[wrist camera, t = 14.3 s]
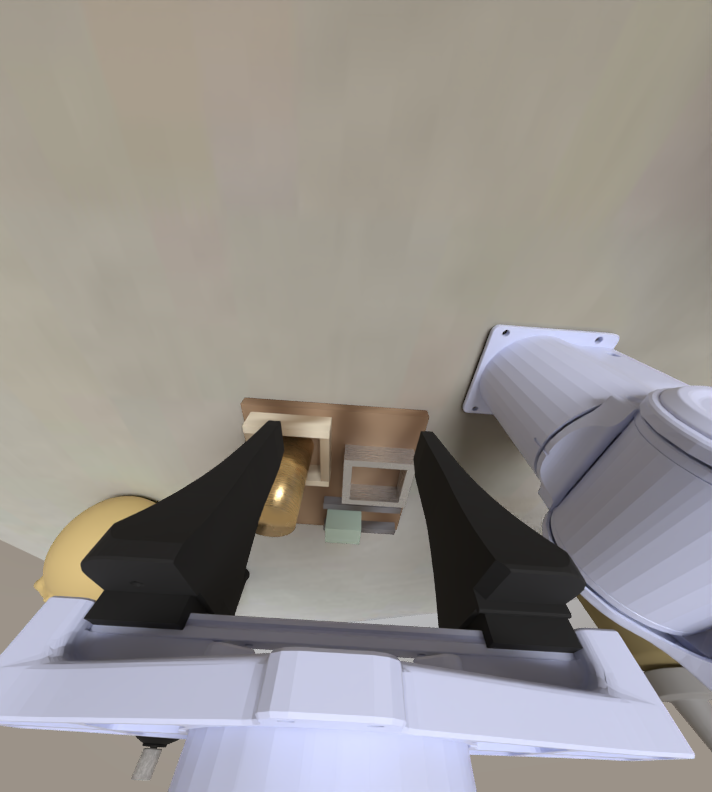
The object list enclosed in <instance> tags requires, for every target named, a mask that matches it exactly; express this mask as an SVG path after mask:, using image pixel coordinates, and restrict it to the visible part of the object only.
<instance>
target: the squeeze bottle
mask: <svg viewBox="0 0 712 792" xmlns="http://www.w3.org/2000/svg"><path fill="white" fill-rule="evenodd" d="M577 598H578V599H579V601H580V602H581V603H582V605H583V607H584V608H585V610H586V611H587V612H588V614H589V615H590V617H591V618H592V620H593V621H594V623H595V624H596V626H597V627H598V629H613V630H615V631H617V632H618V633H619V635H620V636H621V638H622V640H623V641H624V643H625V644H626V646H627V647H628V649H629V651H630V652H631V654H632V655H633V657H634V659H635V660H636V662H637V663H638V665H639V666H640V668H641V670H642V671H645V672H643V673H644V674H645V676H646V678H647V679H648V681H649V682H650V684H651V686H652V687H653V689H654V690H655V692H656V693H657V695H658V697H659V698H660V700H661V701H662V702H670V703H672V704H673V705H674V706H675V708H676V709H677V710H678V711H679V713H680V714H681V715H682V716H683V718H684V719H685V720H686V721H687V722H688V724H689V725H690V726H691V727H692V728H693V730H694V731H695V732H696V733H697V734H698V736H699V737H700V738H701V739H702V741H703V742H704V743H705V744H706V745H707V747H708V748H709V749H710V750H711V751H712V706H711V704H710V702H709V700H712V692H711V691H710V690H709V689H708V688H707V687H706V686H704V685H703V684H702V683H701V682H700V681H699V680H698V679H697V678H696V677H694V676H693V675H692V674H691V673H690V672H689V671H687V670H686V669H685V668H684V667H683V666H682V665H680V664H679V663H678V662H677V661H676V660H674V659H673V658H672V657H670V656H669V655H668V654H666V653H665V652H664V651H662V650H661V649H659V648H658V647H656V646H655V645H653V644H652V643H650V642H649V641H647V640H645V639H643V638H642V637H640V636H638V635H636V634H634V633H633V632H631V631H629V630H627V629H625V628H624V627H622V626H620V625H618V624H617V623H615V622H614V621H613V620H611V619H610V618H608V617H607V616H605V615H604V614H603V613H601V612H600V611H599V610H598V609H596V608H595V607H594V606H593V605H591V604H590V603H589V602H588V601H587V600H586V599H585V598H584V597H583V596H582V595H581V594H579V595H578V596H577Z"/></svg>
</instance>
